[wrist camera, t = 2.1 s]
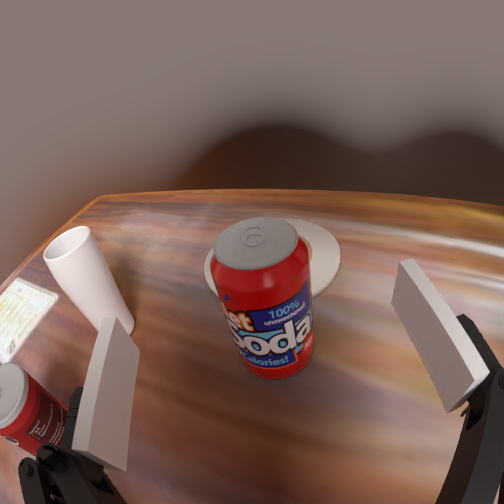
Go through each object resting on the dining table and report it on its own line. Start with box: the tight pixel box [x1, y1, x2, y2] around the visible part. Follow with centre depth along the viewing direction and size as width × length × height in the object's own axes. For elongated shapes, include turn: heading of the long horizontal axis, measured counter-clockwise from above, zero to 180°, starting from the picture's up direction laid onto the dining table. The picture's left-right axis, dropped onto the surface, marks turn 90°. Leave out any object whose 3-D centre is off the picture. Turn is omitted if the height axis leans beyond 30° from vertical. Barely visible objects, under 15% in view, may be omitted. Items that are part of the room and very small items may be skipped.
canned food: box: [0, 363, 69, 456], centre depth 21 cm, size 8×8×11 cm
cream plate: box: [204, 218, 340, 298], centre depth 44 cm, size 20×20×1 cm
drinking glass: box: [43, 226, 135, 335], centre depth 33 cm, size 7×7×15 cm
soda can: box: [210, 217, 314, 379], centre depth 27 cm, size 8×8×15 cm
